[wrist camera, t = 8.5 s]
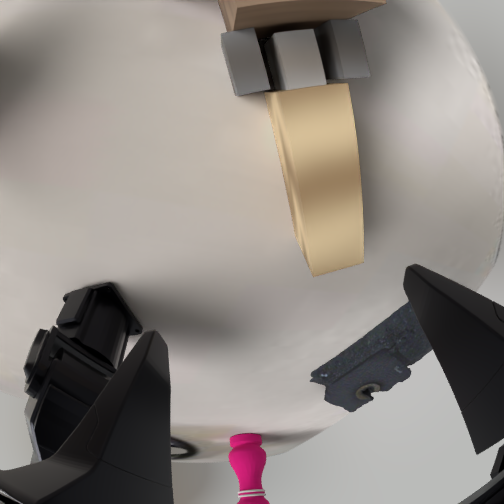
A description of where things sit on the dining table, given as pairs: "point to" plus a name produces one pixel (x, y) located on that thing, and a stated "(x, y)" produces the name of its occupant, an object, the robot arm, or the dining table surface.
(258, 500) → the pepper mill
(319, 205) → the tan oblong piece
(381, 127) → the dining table surface
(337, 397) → the dark slate chunk
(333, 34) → the brown boxy piece
